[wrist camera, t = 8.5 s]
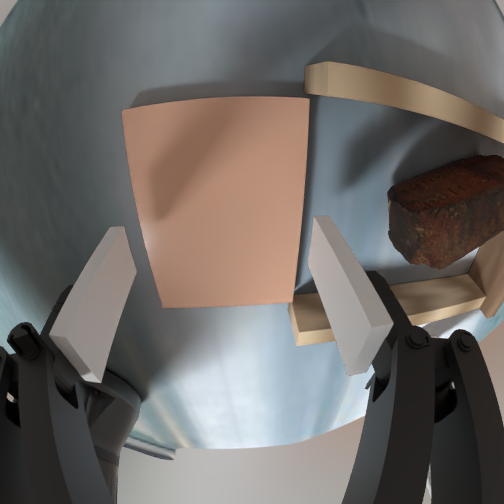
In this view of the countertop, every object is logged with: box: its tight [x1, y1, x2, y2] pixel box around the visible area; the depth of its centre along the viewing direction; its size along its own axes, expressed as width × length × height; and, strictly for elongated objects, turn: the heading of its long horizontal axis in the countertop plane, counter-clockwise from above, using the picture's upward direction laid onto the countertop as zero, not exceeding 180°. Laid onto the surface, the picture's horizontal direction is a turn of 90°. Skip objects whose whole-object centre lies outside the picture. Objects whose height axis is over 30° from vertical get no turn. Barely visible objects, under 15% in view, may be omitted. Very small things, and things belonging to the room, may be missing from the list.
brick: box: [387, 155, 504, 270], centre depth 13 cm, size 11×4×5 cm, turn 112°
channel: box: [288, 61, 504, 346], centre depth 14 cm, size 20×16×5 cm
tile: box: [122, 96, 310, 308], centre depth 15 cm, size 9×13×1 cm
